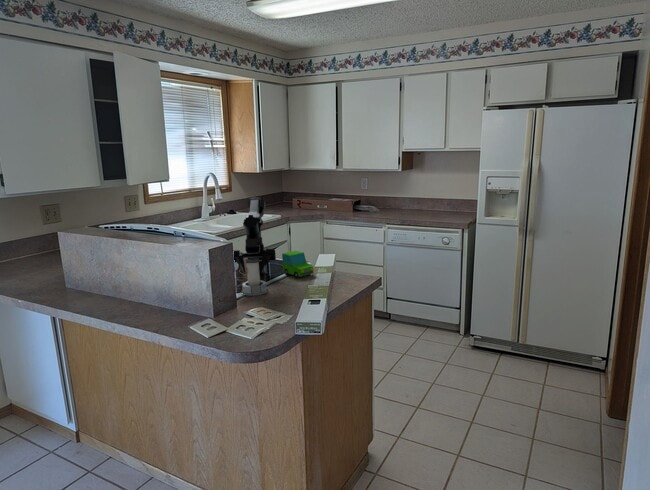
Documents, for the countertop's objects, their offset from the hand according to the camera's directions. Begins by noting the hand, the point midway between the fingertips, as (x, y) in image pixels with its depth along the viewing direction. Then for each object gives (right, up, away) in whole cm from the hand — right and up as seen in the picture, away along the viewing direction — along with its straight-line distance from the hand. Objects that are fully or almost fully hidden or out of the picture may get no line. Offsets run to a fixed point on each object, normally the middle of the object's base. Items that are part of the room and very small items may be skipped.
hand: (253, 273), depth 183 cm
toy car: (+17, -3, +26) cm, 32 cm away
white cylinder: (0, -7, +3) cm, 8 cm away
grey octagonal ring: (0, -8, +3) cm, 9 cm away
